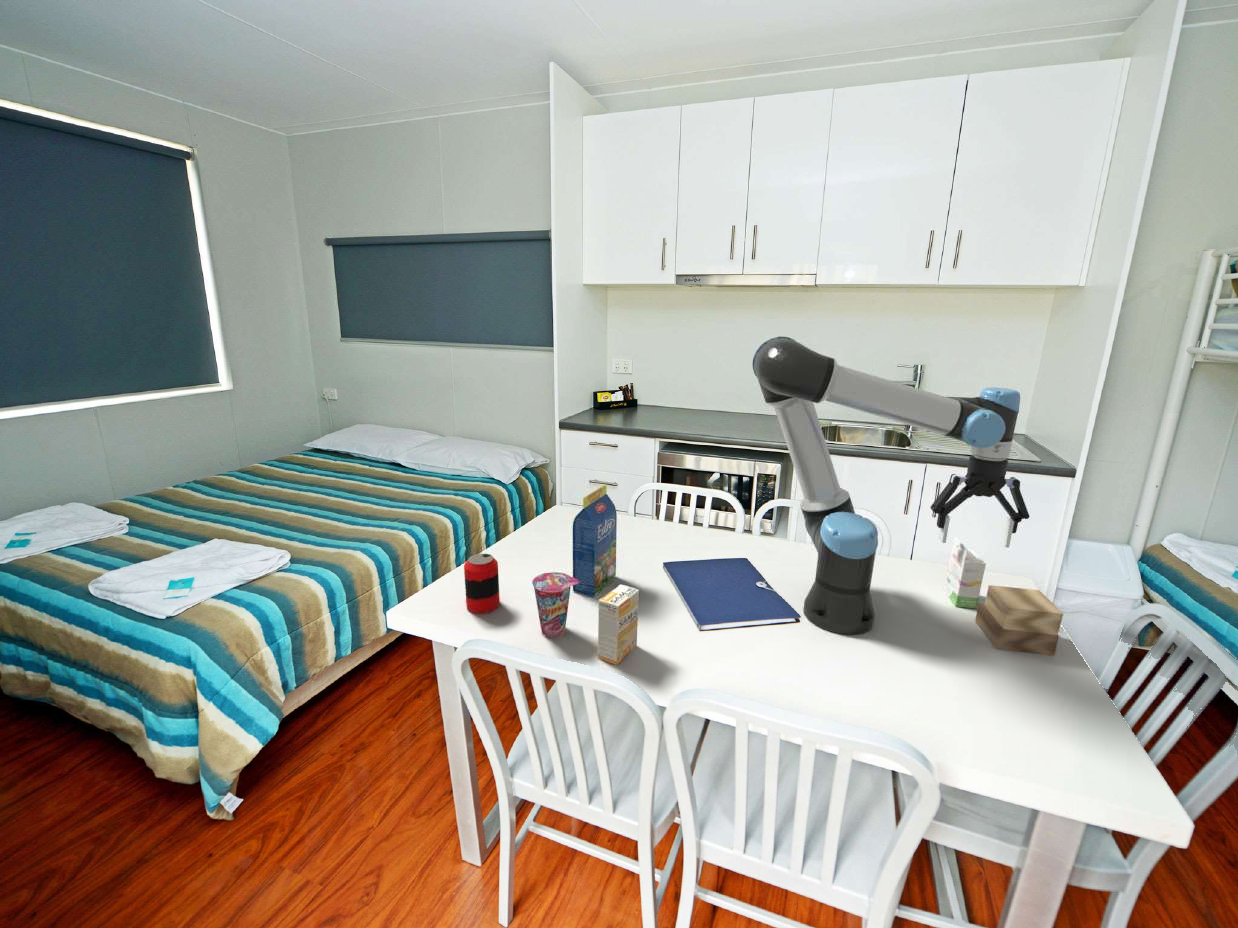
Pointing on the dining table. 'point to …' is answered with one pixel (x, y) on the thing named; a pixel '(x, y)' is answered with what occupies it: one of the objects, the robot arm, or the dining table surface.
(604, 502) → the blue food package
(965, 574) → the ink box
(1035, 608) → the top slab
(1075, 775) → the dining table surface
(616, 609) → the supplement box
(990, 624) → the base slab
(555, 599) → the cup
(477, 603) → the soda can
